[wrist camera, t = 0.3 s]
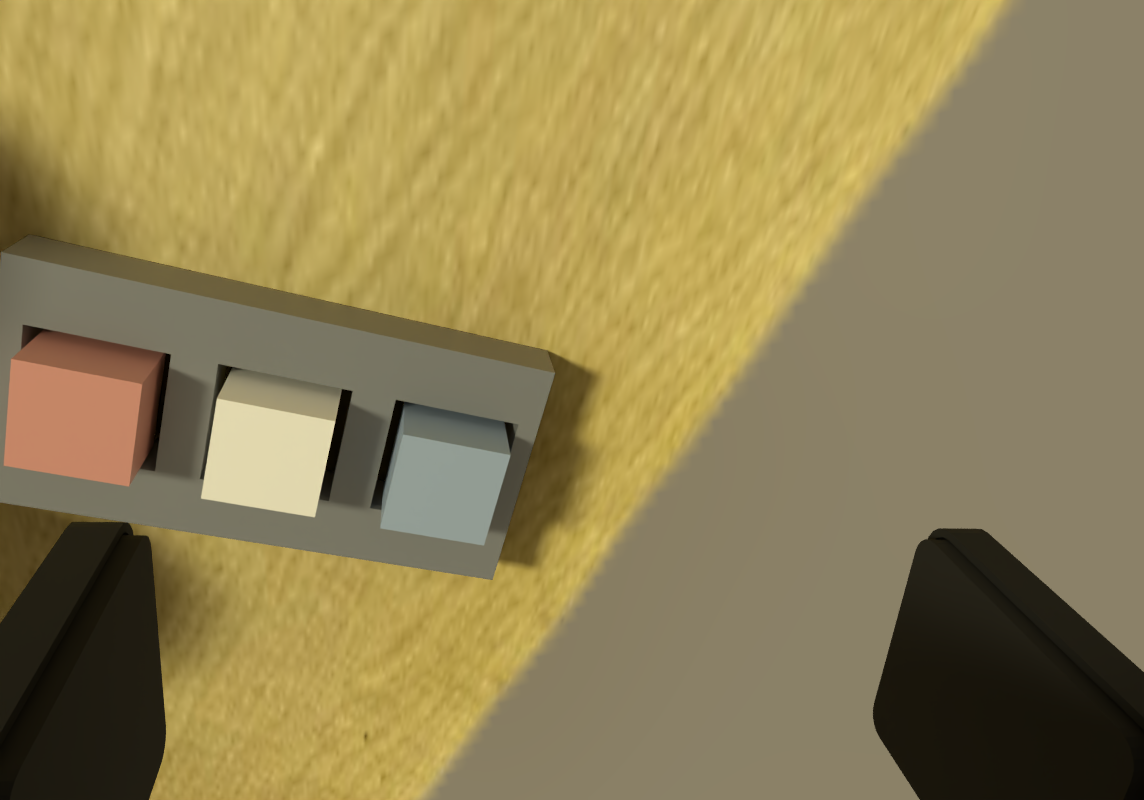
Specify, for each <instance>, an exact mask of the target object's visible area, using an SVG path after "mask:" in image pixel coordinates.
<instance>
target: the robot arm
mask: <svg viewBox="0 0 1144 800" xmlns="http://www.w3.org/2000/svg"><path fill="white" fill-rule="evenodd" d="M873 719H874V725H875V728H876V731H877V733H878V735H879V737H880V739H881V740H882V742H883V743H884V745H885V747H886V748H887V750H888V751H889V753H890V754H891V756H892V757H893V759H894V760H895V762H896V764H897V765H898V767H899V768H900V770H901V771H902V773H903V774H904V776H905V777H906V779H907V781H908V782H909V783H910V785H911V787H912V788H913V790H914V791H915V793H916V794H917V796H918V797H919V799H920V800H1144V672H1143V671H1142V670H1141V669H1139V668H1138V667H1137V666H1136V665H1135V664H1134V663H1133V662H1132V661H1131V660H1129V659H1128V658H1127V657H1126V656H1125V655H1124V654H1123V653H1122V652H1121V651H1119V650H1118V649H1117V648H1116V647H1115V646H1114V645H1113V644H1111V643H1110V642H1109V641H1108V640H1107V639H1106V638H1105V637H1103V635H1101V634H1100V633H1099V632H1098V631H1097V630H1096V629H1095V628H1094V627H1093V626H1091V625H1090V624H1089V623H1088V622H1087V621H1086V620H1085V619H1084V618H1082V617H1081V616H1080V615H1079V614H1078V613H1077V612H1076V611H1075V610H1074V609H1072V608H1071V607H1070V606H1069V605H1068V604H1067V603H1066V602H1065V601H1063V600H1062V599H1061V598H1060V597H1059V596H1058V595H1057V594H1056V593H1054V592H1053V591H1052V590H1051V589H1050V588H1049V587H1048V586H1047V585H1046V584H1044V583H1043V582H1042V581H1041V580H1040V579H1039V578H1038V577H1037V576H1035V575H1034V574H1033V573H1032V572H1031V571H1030V570H1028V568H1027V567H1025V566H1024V565H1023V564H1022V563H1021V562H1020V561H1019V560H1018V559H1016V558H1015V557H1014V556H1013V555H1012V554H1011V553H1010V552H1009V551H1007V550H1006V549H1005V548H1004V547H1003V546H1002V545H1001V544H1000V543H999V542H997V541H996V540H995V539H994V538H993V537H992V536H991V535H990V534H988V533H987V532H985V531H984V530H982V529H937V530H935V531H933V532H932V533H931V535H930V536H929V538H928V539H926V540H923V541H921V542H920V544H919V545H918V547H917V549H916V552H915V555H914V559H913V563H912V566H911V570H910V574H909V577H908V581H907V585H906V588H905V592H904V596H903V599H902V603H901V607H900V611H899V614H898V618H897V621H896V625H895V629H894V632H893V636H892V640H891V643H890V647H889V651H888V654H887V658H886V662H885V665H884V669H883V673H882V676H881V680H880V684H879V687H878V691H877V695H876V699H875V703H874V707H873ZM165 740H166V722H165V710H164V698H163V685H162V673H161V661H160V649H159V636H158V624H157V612H156V600H155V587H154V575H153V563H152V551H151V543H150V540H149V537H148V536H141V535H133V531H132V528H131V525H130V524H129V523H128V522H73V523H71V524H70V525H69V526H68V527H67V528H66V529H65V531H64V532H63V534H62V535H61V537H60V538H59V539H58V541H57V542H56V544H55V545H54V547H53V548H52V550H51V551H50V552H49V554H48V555H47V557H46V558H45V560H44V561H43V563H42V564H41V566H40V567H39V568H38V570H37V571H36V573H35V574H34V576H33V577H32V579H31V580H30V581H29V583H28V584H27V586H26V587H25V589H24V590H23V592H22V593H21V594H20V596H19V597H18V599H17V600H16V602H15V603H14V605H13V606H12V608H11V609H10V610H9V612H8V613H7V615H6V616H5V618H4V619H3V621H2V622H1V623H0V800H149V797H150V794H151V792H152V789H153V786H154V783H155V780H156V777H157V774H158V771H159V768H160V765H161V762H162V759H163V754H164V748H165Z"/></svg>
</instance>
